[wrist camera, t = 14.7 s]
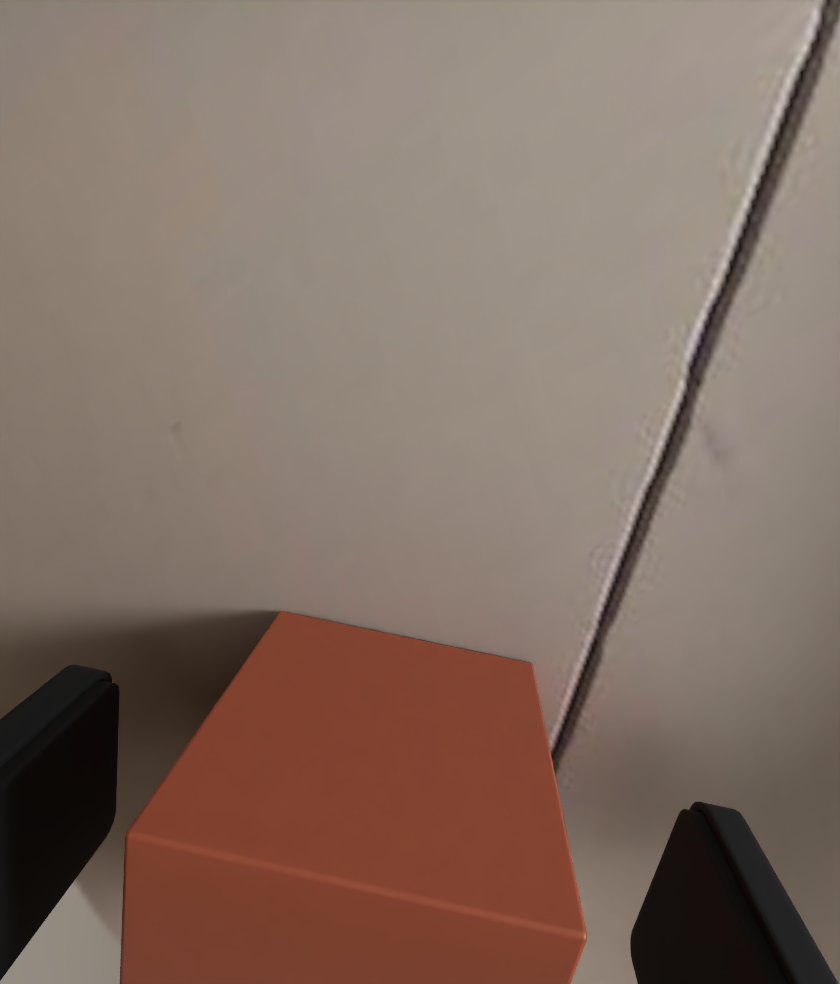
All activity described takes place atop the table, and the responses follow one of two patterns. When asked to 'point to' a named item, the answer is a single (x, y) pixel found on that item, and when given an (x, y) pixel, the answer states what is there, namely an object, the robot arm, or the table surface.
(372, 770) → the block
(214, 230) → the table surface
